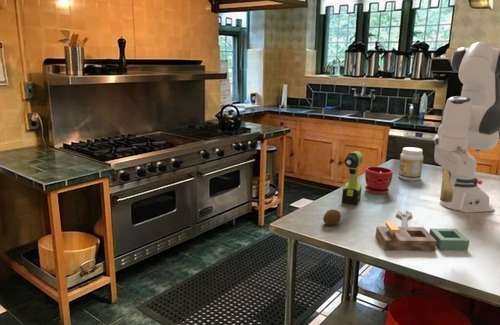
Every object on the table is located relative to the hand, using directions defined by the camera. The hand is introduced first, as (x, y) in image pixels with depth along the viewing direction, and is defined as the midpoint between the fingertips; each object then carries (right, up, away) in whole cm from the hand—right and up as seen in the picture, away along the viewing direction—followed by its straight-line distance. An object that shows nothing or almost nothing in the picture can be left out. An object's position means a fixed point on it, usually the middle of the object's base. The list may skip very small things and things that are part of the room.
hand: (448, 181), depth 145 cm
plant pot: (-6, -8, +63) cm, 64 cm away
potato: (-37, -19, +23) cm, 48 cm away
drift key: (-18, -23, +6) cm, 30 cm away
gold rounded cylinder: (0, -7, +2) cm, 7 cm away
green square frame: (+3, -24, +6) cm, 24 cm away
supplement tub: (+20, -2, +87) cm, 89 cm away
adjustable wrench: (-7, -19, +24) cm, 32 cm away
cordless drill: (-24, -13, +46) cm, 54 cm away
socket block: (-13, -23, +6) cm, 28 cm away
